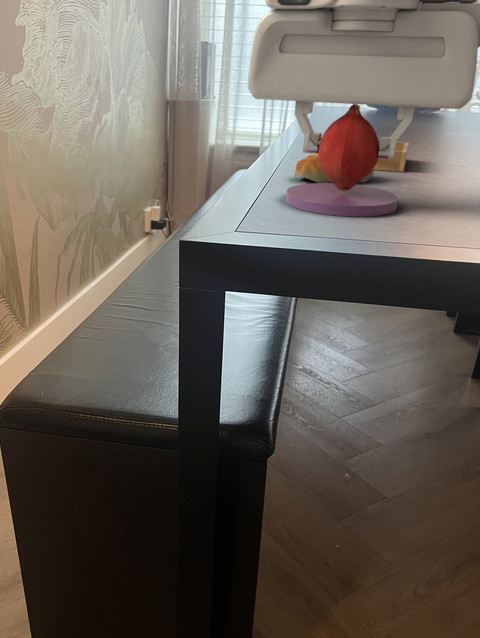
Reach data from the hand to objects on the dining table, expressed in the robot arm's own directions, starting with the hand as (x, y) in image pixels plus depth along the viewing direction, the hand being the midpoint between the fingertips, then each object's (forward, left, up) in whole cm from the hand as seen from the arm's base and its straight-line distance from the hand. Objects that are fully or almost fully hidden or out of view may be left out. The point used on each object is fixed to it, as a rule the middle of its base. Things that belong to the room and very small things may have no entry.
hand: (347, 155), depth 59 cm
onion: (0, 0, -4) cm, 4 cm away
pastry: (-4, -13, -5) cm, 15 cm away
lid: (0, 0, -5) cm, 5 cm away
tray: (-13, -25, -5) cm, 29 cm away
